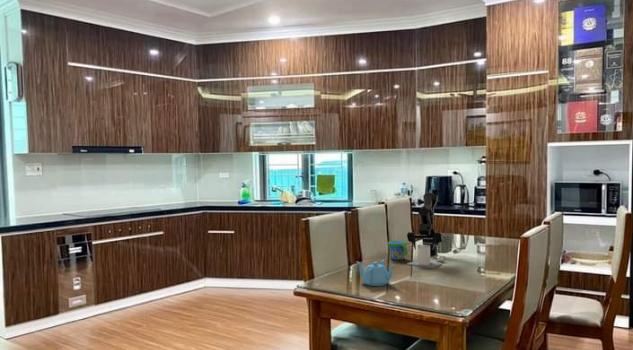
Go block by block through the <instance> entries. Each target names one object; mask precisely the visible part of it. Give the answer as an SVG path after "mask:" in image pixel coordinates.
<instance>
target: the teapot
mask: <svg viewBox="0 0 633 350" xmlns="http://www.w3.org/2000/svg"><path fill="white" fill-rule="evenodd" d="M355 262H356V263H357V264H358V267H359V268H358V269H359V275H360V277H362V278H361V281H362V282H363V283H364V284H365V285H366V286H369V287H383V286H386V285H388V284H389V282H390V280H392V277H393V267H394V266H395V264H391V265H390V266H388V267H389V268H388V270H387V268H386V266H385V258H384V259H381V260H380V263H379V262H378V261H373V262H372V264H368V265H367V266H366V267H365V269H364V268H363V264H362V262H359V261H355Z"/></svg>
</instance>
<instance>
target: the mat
mask: <svg viewBox="0 0 633 350" xmlns="http://www.w3.org/2000/svg"><path fill="white" fill-rule="evenodd" d="M406 265H407V266H411V267H412V266H413V267H419V268H425V269H426V268H428V269H435V268H438V267H441V266H443V264H442V263H438V262H431V261H430V264H429V265H418V259H417V260H413V261H410V262H406Z"/></svg>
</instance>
